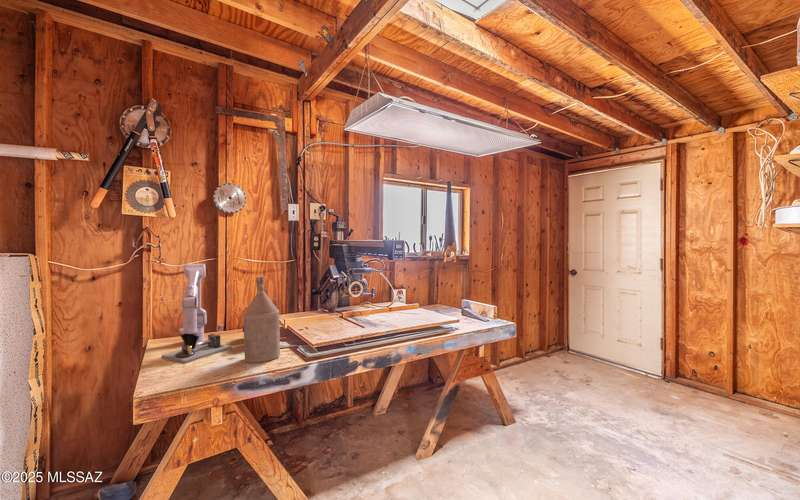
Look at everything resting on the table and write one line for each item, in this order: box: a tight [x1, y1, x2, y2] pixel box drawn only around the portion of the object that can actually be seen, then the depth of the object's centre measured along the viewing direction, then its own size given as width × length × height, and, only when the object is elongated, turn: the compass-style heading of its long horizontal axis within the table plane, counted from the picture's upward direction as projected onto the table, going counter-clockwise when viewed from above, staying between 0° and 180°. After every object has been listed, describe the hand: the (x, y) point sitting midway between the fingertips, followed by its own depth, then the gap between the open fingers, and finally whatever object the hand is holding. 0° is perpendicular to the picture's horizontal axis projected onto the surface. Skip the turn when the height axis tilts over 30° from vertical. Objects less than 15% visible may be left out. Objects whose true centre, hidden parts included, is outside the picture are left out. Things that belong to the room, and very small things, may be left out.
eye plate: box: [205, 333, 224, 349], centre depth 174 cm, size 9×4×6 cm, turn 65°
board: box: [161, 343, 232, 364], centre depth 168 cm, size 18×24×1 cm
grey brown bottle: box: [242, 275, 282, 364], centre depth 160 cm, size 13×17×40 cm
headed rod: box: [181, 339, 211, 352], centre depth 166 cm, size 3×14×3 cm, turn 155°
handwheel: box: [175, 346, 195, 357], centre depth 161 cm, size 8×9×5 cm
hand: (190, 348), depth 163 cm, fingers closed on headed rod, 2 cm apart
